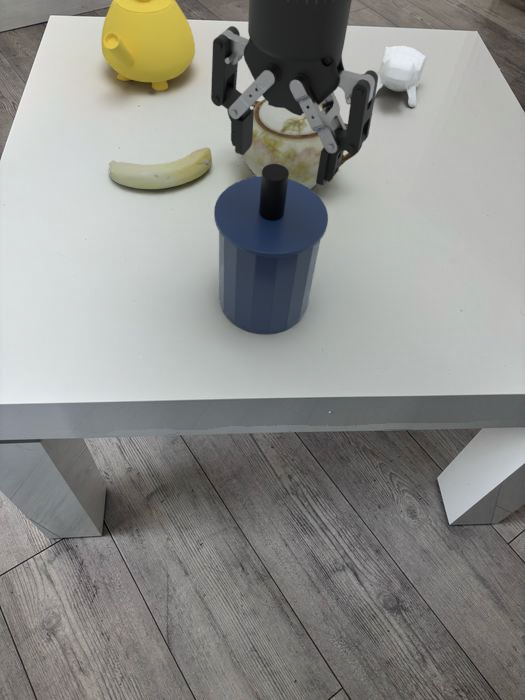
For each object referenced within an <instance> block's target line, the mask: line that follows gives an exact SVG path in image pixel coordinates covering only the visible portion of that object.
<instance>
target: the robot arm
mask: <svg viewBox="0 0 525 700" xmlns="http://www.w3.org/2000/svg"><path fill="white" fill-rule="evenodd" d="M351 6H352V0H248V21H247V22H248V23H247V32H248V36H249V39H248V38H246V37H243V36H241V34H240V31H239V29H238V28H237V27H236V26H234V25H231V26H229V27H227V28H226V29H225V30H224V31H223V32H221V33H220V34H219V35H218V36H216V37H215V38H214V39H213V41H212V56H211V57H212V58H211V61H212V62H211V86H210V87H211V90H210V92H211V93H210V100H211V102H212V104H213V105H215V106H216V107H221V106H222V107H223V108H225V109H226V111H227V110H228V111H229V114H230V116H231V120H230V141H231V145H232V147H234V151H235V154H238V155H241V156H242V155H244V154H245V153H246V152H247V150H248V149H249V148H250V147H251V145H252V139H253V117H254V110H252V109H253V108H252V109H251V107H252V106H251V105H253V104H254V103H255V102H256V101H259V99H260V98H261V97H263V99H266V100H267V101H268V105H270V106H273V107H277V108H285V109H287V110H288V111H290V112H291V113H293V114H296V115H299V116H301V115H302V114H303V113H304V114H305V117H306V119H307V121H308V123H309V125H310V127H311V129H312V130H313V131H316V132H317V133H318V135H319V137H320V139H321V141H322V144H323V146H324V148H323V149H322V150H321V155H320V161H319V167H318V173H317V179H316V183H317V184H316V185H320V186H323V187H324V186H325V185H326V183H327V182H328V183H330V182H331V181H332V180H333V178H334V177H335V176H336V175H337V173H338V172H339V170H340V167H341V166H340V161H341V156H342V151H344V152H347V153H350V154H355V153H356V152H357V151H358V150H359V148H360V146H361V145H362V146H363V143H364V142H365V141H366V140H367V139H368V138H369V134H370V130H371V129H370V128H371V122H372V117H373V111H374V105H375V100H376V96H375V94H376V89H377V83H378V73H377V72H376V71H375V70H366V71H365V73H364V74H361V73H356V72H352V71H349V70H346V69H345V66H344V63H343V52H344V51H343V50H344V46H345V42H346V41H345V40H346V34H347V30H348V25H349V24H348V23H349V18H350V12H351ZM242 59H244V61H245V64H246V66H247V68H248V70H249V72H250V74H251V76H252V78H253V80H254V81H253V82H252V83H251V84H250V85H249V86H248V87H247V88H246V89H245V90H244V91H243V92H241V91H239V90H238V89H237V79H238V67H239V66H238V65H239V62H240V61H241V60H242ZM338 88H340V89H341V90H343V93H344V100H345V104H346V105H349V112H348V118H347V119H348V120H347V124H348V126H347V129H346V127H345V125H344V123H345V122H344V120H343V118H342V115H341V113H340V112H341V106H340V104H339V101H338V99H337V97H336V95H335V91H336V90H337V89H338ZM376 95H377V94H376ZM320 103H321V104H322V111H320V109H319V106H318V105H319V104H320ZM228 111H227V112H228ZM360 149H361V148H360ZM359 151H360V150H359ZM339 166H340V167H339Z"/></svg>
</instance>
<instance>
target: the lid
mask: <svg viewBox="0 0 525 700" xmlns="http://www.w3.org/2000/svg"><path fill="white" fill-rule="evenodd" d="M288 177H289V171H288V169H287V168H286V167H284V166H282V165H280V164H269V165H267V166H265V167H264V168H263V170H262V176H260V177H257V176H253V177H248V178H245V179H244V178H243V179H241V180H239V181H236V182H234V183H233V184H230V185H229V186H228V187H226V188H225V190H223V191H222V192H221V194H220V195H219V196H218V198H217V200H216V202H215V205H214V209H213V210H214V211H213V213H214V215H213V216H214V223H215V226H216V228H217V230H218V233H219V232H220V233H221V235H222V236H223V237H224V238H225V239H226V240H227V241H228V242H229V243H230V244H232V245H233V246H235V247H236V248H238V249H240V250H242V251H244V252H247V253H250V254H253V255H257V256H262V257H272V258H278V257H289V256H293V255H297V254H300V253H303V252H305V251H307V250H309V249H310V248H312V247H313V246H315V245H316V244H317V243H318V242H319V241H320V242H321V240H322V239H323V237H324V235H325V233H326V232H327V228H328V223H329V213H328V210H327V207H326V205H325V203H324V201H323V200H322V198H321V197H320V196H319V195H318V194H317V193H316V192H315V191H314V190H312V189H309V188H308V187H306V186H304V185H303V184H300V183H298V182H296V181H293V180H290V179H288Z"/></svg>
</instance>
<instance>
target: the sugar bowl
mask: <svg viewBox="0 0 525 700" xmlns="http://www.w3.org/2000/svg"><path fill="white" fill-rule="evenodd" d="M318 106H319V109H320V111H322V104H321V103H320V104H319V105H318ZM250 107H253V108H252V110H254V117H253V139H252V145H251V147H250V148H249V149H248V150H247V152H246V153H245V154H244V155H241V156H242V158H243V160H244V162H245V163H246V165H247V167H248V168H249V169H250V171H251V172H252V173H253V174H254V175H255V177H260V176H262V170H263V168H264V167H265V166H267V165H269V164H280V165H282V166H284V167H286V168H287V169H288V171H289V177H288V179H290V180H293V181H296V182H298V183H300V184H303V185H304V186H306V187H308V188H309V189H311V190H312V189H313V188H314V187H315V186H316V185H318V184H317V183H316V179H317V173H318V167H319V161H320V155H321V150H322V149H323V148H324V146H323V144H322V141H321V139H320V137H319V135H318V133H317V132H316V131H313V130H312V129H311V127H310V125H309V123H308V121H307V119H306V117H305V114H304V113H303V114H302V115H301V116H299V115H296V114H293V113H291V112H290V111H288V110H287V109H285V108H277V107H273V106H270V105H268V101H267V100H266V99H265V98H263V99H262V100H261V101H259V100H257V101H256V102H255V103H254V104H253V105H251V106H250ZM226 111H227V115H228V118H229V120H230V121H231V116H230V114H229V111H228V110H227V109H226ZM344 125H345V127H346V129H347V126H348V123H345V122H344ZM362 147H363V144H362V145H361V146H360V148H359V150H358V151H357V152H356V153H355V154H350V153H348V152H347V153H346V154H344V152H345V151H342V156H341V161H340V166H339V168H340V167H342V165H343V164H344V163H346V162H347V161H348V160H351V159H352V158H354V156H355V155H357V154H358V153H359V152H360V150H361V148H362Z"/></svg>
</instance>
